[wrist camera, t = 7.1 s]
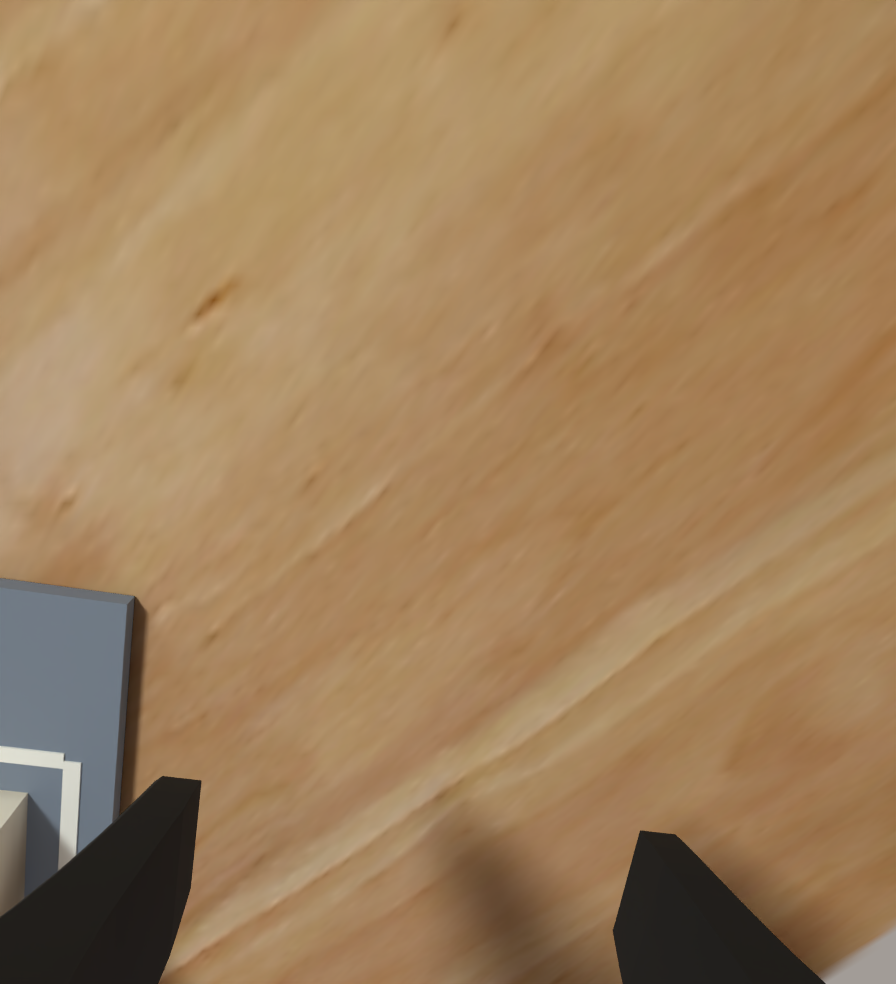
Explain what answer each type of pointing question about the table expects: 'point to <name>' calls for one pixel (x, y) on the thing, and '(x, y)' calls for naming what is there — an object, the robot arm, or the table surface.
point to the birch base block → (12, 848)
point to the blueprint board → (63, 714)
